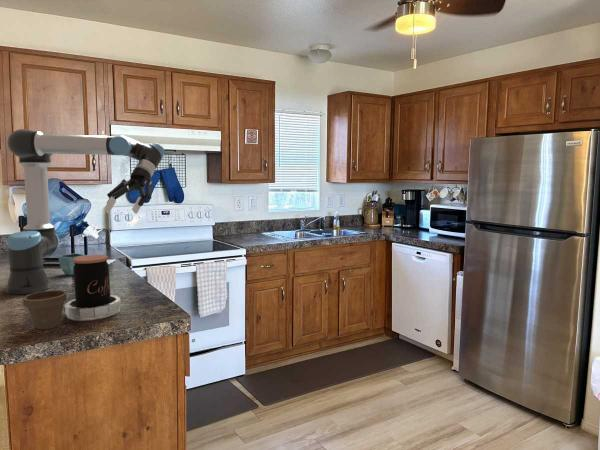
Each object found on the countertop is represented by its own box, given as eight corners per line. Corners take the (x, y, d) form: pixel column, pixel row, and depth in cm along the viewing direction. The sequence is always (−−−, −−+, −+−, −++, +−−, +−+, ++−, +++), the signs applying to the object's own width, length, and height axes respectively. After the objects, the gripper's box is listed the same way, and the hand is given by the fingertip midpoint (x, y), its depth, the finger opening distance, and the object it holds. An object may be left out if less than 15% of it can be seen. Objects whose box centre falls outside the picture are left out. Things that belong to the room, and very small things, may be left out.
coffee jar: (89, 317, 148) (85, 261, 146) (69, 312, 153) (65, 258, 151) (118, 308, 157) (114, 256, 155) (98, 304, 162) (95, 253, 160)
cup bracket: (55, 318, 150) (54, 306, 150) (93, 304, 165) (92, 293, 165) (95, 322, 145) (94, 310, 144) (130, 308, 160) (130, 297, 159)
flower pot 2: (87, 273, 218) (86, 254, 217) (69, 277, 211) (68, 257, 210) (76, 271, 223) (75, 253, 222) (59, 275, 216) (57, 256, 215)
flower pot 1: (23, 335, 134) (20, 301, 133) (27, 324, 144) (25, 292, 143) (68, 329, 139) (65, 296, 138) (68, 318, 149) (66, 288, 148)
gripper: (172, 178, 194) (151, 217, 181) (123, 179, 202) (100, 216, 190) (163, 165, 188) (141, 205, 176) (114, 166, 196) (89, 204, 184)
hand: (120, 211), depth 183 cm, fingers open, 13 cm apart
